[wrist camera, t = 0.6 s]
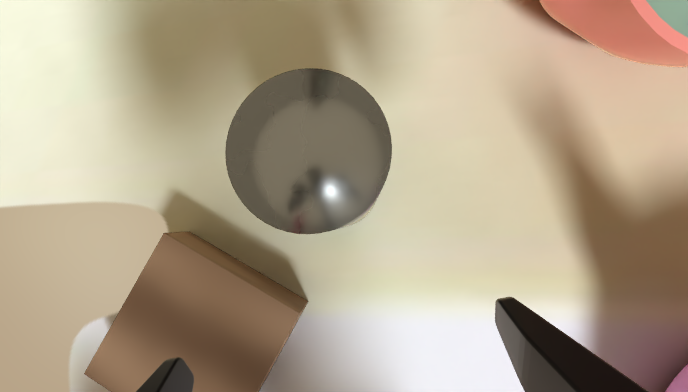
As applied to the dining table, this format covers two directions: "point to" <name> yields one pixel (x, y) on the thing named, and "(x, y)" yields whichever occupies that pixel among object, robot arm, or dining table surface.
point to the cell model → (629, 27)
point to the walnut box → (197, 321)
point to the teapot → (679, 382)
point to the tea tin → (309, 151)
